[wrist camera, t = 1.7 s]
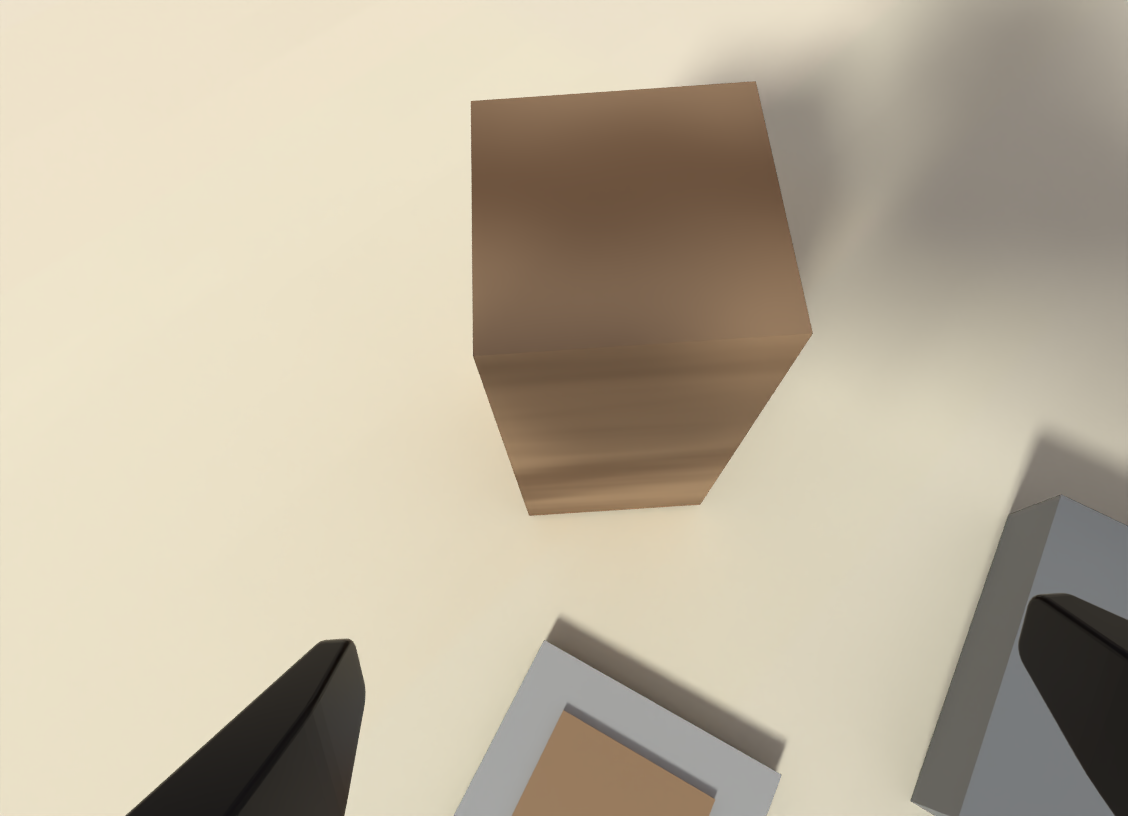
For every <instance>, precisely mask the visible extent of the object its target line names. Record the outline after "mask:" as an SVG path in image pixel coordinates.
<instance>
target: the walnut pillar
mask: <svg viewBox="0 0 1128 816" xmlns="http://www.w3.org/2000/svg"><path fill="white" fill-rule="evenodd" d="M471 163H472V285H473V357H474V360H475V363H476V366H477V369H478V371H479V374H480V377H481V380H482V383H483V386H484V389H485V391H486V394H487V397H488V400H489V403H490V406H491V408H492V411H493V414H494V417H495V420H496V423H497V426H498V428H499V431H500V434H501V437H502V440H503V443H504V445H505V448H506V451H507V454H508V457H509V460H510V462H511V465H512V468H513V471H514V474H515V477H516V480H517V482H518V485H519V488H520V491H521V494H522V497H523V499H524V502H525V505H526V508H527V511H528V514H529V516H532V515H547V514H563V513H578V512H593V511H609V510H624V509H639V508H655V507H670V506H685V505H700V504H701V503H702V501H703V499H704V498H705V496H706V495H707V493H708V492H709V490H710V489H711V487H712V486H713V484H714V483H715V481H716V480H717V478H718V477H719V475H720V474H721V472H722V471H723V469H724V468H725V466H726V464H727V463H728V461H729V460H730V458H731V457H732V455H733V454H734V452H735V451H736V449H737V448H738V446H739V445H740V443H741V442H742V440H743V439H744V437H745V436H746V434H747V433H748V431H749V429H750V428H751V426H752V425H753V423H754V422H755V420H756V419H757V417H758V416H759V414H760V413H761V411H762V410H763V408H764V407H765V405H766V404H767V402H768V401H769V399H770V398H771V396H772V394H773V393H774V391H775V390H776V388H777V387H778V385H779V384H780V382H781V381H782V379H783V378H784V376H785V375H786V373H787V372H788V370H789V369H790V367H791V366H792V364H793V363H794V361H795V359H796V358H797V356H798V355H799V353H800V352H801V350H802V349H803V347H804V346H805V344H806V343H807V341H808V340H809V338H810V337H811V335H812V334H813V333H812V328H811V324H810V319H809V315H808V311H807V306H806V302H805V297H804V293H803V288H802V284H801V280H800V275H799V271H798V266H797V262H796V257H795V253H794V249H793V244H792V240H791V235H790V231H789V227H788V222H787V218H786V213H785V209H784V204H783V200H782V196H781V191H780V187H779V182H778V178H777V173H776V169H775V165H774V160H773V156H772V151H771V147H770V142H769V138H768V134H767V129H766V125H765V120H764V116H763V112H762V107H761V103H760V98H759V94H758V89H757V85H756V81H754V82H740V83H725V84H711V85H697V86H682V87H668V88H653V89H639V90H625V91H610V92H596V93H581V94H567V95H552V96H538V97H524V98H509V99H495V100H480V101H471Z"/></svg>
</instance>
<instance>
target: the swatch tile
mask: <svg viewBox="0 0 1128 816" xmlns="http://www.w3.org/2000/svg"><path fill="white" fill-rule="evenodd" d="M780 778H781V774H779V773H778V772H776V771H774V770H772V769H770V768H769V767H767V766H765V765H763V764H762V763H760V762H758V761H756V760H755V759H753V758H751V757H749V756H748V755H746V754H744V753H742V752H741V751H739V750H737V749H735V748H733V747H732V746H730V745H728V744H726V743H725V742H723V741H721V740H719V739H718V738H716V737H714V736H712V735H711V734H709V733H707V732H705V731H704V730H702V729H700V728H698V727H697V726H695V725H693V724H691V723H689V722H688V721H686V720H684V719H682V718H681V717H679V716H677V715H675V714H674V713H672V712H670V711H668V710H667V709H665V708H663V707H661V706H660V705H658V704H656V703H654V702H652V701H651V700H649V699H647V698H645V697H644V696H642V695H640V694H638V693H637V692H635V691H633V690H631V689H630V688H628V687H626V686H624V685H623V684H621V683H619V682H617V681H616V680H614V679H612V678H610V677H608V676H607V675H605V674H603V673H601V672H600V671H598V670H596V669H594V668H593V667H591V666H589V665H587V664H586V663H584V662H582V661H580V660H579V659H577V658H575V657H573V656H571V655H570V654H568V653H566V652H564V651H563V650H561V649H559V648H557V647H556V646H554V645H552V644H550V643H549V642H547V641H545V640H544V641H543V643H542V645H541V647H540V649H539V651H538V653H537V655H536V657H535V659H534V661H533V663H532V665H531V667H530V669H529V671H528V673H527V674H526V676H525V678H524V680H523V682H522V684H521V686H520V688H519V690H518V692H517V694H516V696H515V698H514V700H513V702H512V704H511V706H510V707H509V709H508V711H507V713H506V715H505V717H504V719H503V721H502V723H501V725H500V727H499V729H498V731H497V733H496V735H495V737H494V739H493V740H492V742H491V744H490V746H489V748H488V750H487V752H486V754H485V756H484V758H483V760H482V762H481V764H480V766H479V768H478V770H477V772H476V773H475V775H474V777H473V779H472V781H471V783H470V785H469V787H468V789H467V791H466V793H465V795H464V797H463V799H462V801H461V803H460V805H459V807H458V808H457V810H456V812H455V814H454V816H767V813H768V810H769V808H770V805H771V802H772V800H773V797H774V794H775V791H776V789H777V786H778V783H779V781H780Z"/></svg>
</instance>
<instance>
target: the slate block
mask: <svg viewBox="0 0 1128 816" xmlns="http://www.w3.org/2000/svg"><path fill="white" fill-rule="evenodd" d="M1052 593H1067V594H1071V595H1074V596H1076V597H1078V598H1080V599H1083V600H1085V601H1087V602H1089V603H1091V604H1094V605H1096V606H1098V607H1100V608H1103V609H1105V610H1107V611H1109V612H1111V613H1114V614H1116V615H1118V616H1120V617H1123V618H1125V619H1127V620H1128V526H1127V525H1125V524H1123V523H1121V522H1118V521H1116V520H1114V519H1112V518H1110V517H1108V516H1106V515H1104V514H1101V513H1099V512H1097V511H1095V510H1093V509H1091V508H1089V507H1087V506H1085V505H1082V504H1080V503H1078V502H1076V501H1074V500H1072V499H1070V498H1068V497H1065V496H1063V495H1059V496H1056V497H1054V498H1051V499H1048V500H1046V501H1043V502H1041V503H1038V504H1035V505H1033V506H1030V507H1028V508H1025V509H1022V510H1020V511H1017V512H1015V513H1012V514H1009V515H1008V518H1007V521H1006V524H1005V527H1004V530H1003V533H1002V536H1001V538H1000V541H999V544H998V547H997V550H996V553H995V556H994V559H993V562H992V565H991V568H990V571H989V573H988V576H987V579H986V582H985V585H984V588H983V591H982V594H981V597H980V600H979V603H978V605H977V608H976V611H975V614H974V617H973V620H972V623H971V626H970V629H969V632H968V635H967V638H966V640H965V643H964V646H963V649H962V652H961V655H960V658H959V661H958V664H957V667H956V670H955V673H954V675H953V678H952V681H951V684H950V687H949V690H948V693H947V696H946V699H945V702H944V705H943V707H942V710H941V713H940V716H939V719H938V722H937V725H936V728H935V731H934V734H933V737H932V740H931V742H930V745H929V748H928V751H927V754H926V757H925V760H924V763H923V766H922V769H921V772H920V774H919V777H918V780H917V783H916V786H915V789H914V792H913V795H912V798H911V802H913V803H915V804H916V805H918V806H920V807H921V808H923V809H925V810H926V811H928V812H930V813H931V814H933V815H935V816H1114V814H1113V813H1112V811H1111V810H1110V809H1109V807H1108V806H1107V804H1106V803H1105V801H1104V800H1103V798H1102V797H1101V796H1100V794H1099V793H1098V791H1097V790H1096V788H1095V787H1094V785H1093V783H1092V782H1091V780H1090V779H1089V777H1088V776H1087V774H1086V773H1085V771H1084V769H1083V768H1082V766H1081V764H1080V763H1079V761H1078V760H1077V758H1076V756H1075V755H1074V753H1073V751H1072V749H1071V748H1070V746H1069V744H1068V742H1067V740H1066V739H1065V737H1064V735H1063V733H1062V732H1061V730H1060V728H1059V726H1058V725H1057V723H1056V721H1055V719H1054V718H1053V716H1052V714H1051V712H1050V711H1049V709H1048V707H1047V705H1046V704H1045V702H1044V700H1043V698H1042V697H1041V695H1040V693H1039V691H1038V690H1037V688H1036V686H1035V684H1034V682H1033V681H1032V679H1031V677H1030V675H1029V674H1028V672H1027V670H1026V668H1025V667H1024V665H1023V663H1022V661H1021V658H1020V655H1019V650H1018V641H1019V637H1020V633H1021V629H1022V625H1023V621H1024V617H1025V613H1026V609H1027V606H1028V603H1029V601H1030V599H1031V598H1032V597H1033V596H1035V595H1039V594H1052Z"/></svg>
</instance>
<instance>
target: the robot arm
mask: <svg viewBox="0 0 1128 816" xmlns="http://www.w3.org/2000/svg"><path fill="white" fill-rule="evenodd" d="M1018 650H1019V655H1020V658H1021V661H1022V663H1023V665H1024V667H1025V668H1026V670H1027V672H1028V674H1029V675H1030V677H1031V679H1032V681H1033V682H1034V684H1035V686H1036V688H1037V690H1038V691H1039V693H1040V695H1041V697H1042V698H1043V700H1044V702H1045V704H1046V705H1047V707H1048V709H1049V711H1050V712H1051V714H1052V716H1053V718H1054V719H1055V721H1056V723H1057V725H1058V726H1059V728H1060V730H1061V732H1062V733H1063V735H1064V737H1065V739H1066V740H1067V742H1068V744H1069V746H1070V748H1071V749H1072V751H1073V753H1074V755H1075V756H1076V758H1077V760H1078V761H1079V763H1080V764H1081V766H1082V768H1083V769H1084V771H1085V773H1086V774H1087V776H1088V777H1089V779H1090V780H1091V782H1092V783H1093V785H1094V787H1095V788H1096V790H1097V791H1098V793H1099V794H1100V796H1101V797H1102V798H1103V800H1104V801H1105V803H1106V804H1107V806H1108V807H1109V809H1110V810H1111V811H1112V813H1113V814H1114V816H1128V620H1127V619H1125V618H1123V617H1120V616H1118V615H1116V614H1114V613H1111V612H1109V611H1107V610H1105V609H1103V608H1100V607H1098V606H1096V605H1094V604H1091V603H1089V602H1087V601H1085V600H1083V599H1080V598H1078V597H1076V596H1074V595H1071V594H1067V593H1052V594H1039V595H1035V596H1033V597H1032V598H1031V599H1030V601H1029V603H1028V606H1027V609H1026V613H1025V617H1024V621H1023V625H1022V629H1021V633H1020V637H1019V641H1018ZM364 705H365V684H364V679H363V675H362V671H361V667H360V662H359V658H358V654H357V650H356V646H355V644H354V642H353V641H352V640H350V639H333V640H324V641H321V642H319V643H318V644H316V645H315V646H314V647H313V648H312V649H311V650H309V651H308V652H307V653H306V654H305V655H304V656H303V657H302V658H301V659H299V660H298V661H297V662H296V663H295V664H294V665H293V666H292V667H291V668H289V669H288V670H287V671H286V672H285V673H284V674H283V675H282V676H281V677H279V678H278V679H277V680H276V681H275V682H274V683H273V684H272V685H270V686H269V687H268V688H267V689H266V690H265V691H264V692H263V693H262V694H260V695H259V696H258V697H257V698H256V699H255V700H254V701H253V702H252V703H250V704H249V705H248V706H247V707H246V708H245V709H244V710H243V711H242V712H240V713H239V714H238V715H237V716H236V717H235V718H234V719H233V720H232V721H230V722H229V723H228V724H227V725H226V726H225V727H224V728H223V729H221V730H220V731H219V732H218V733H217V734H216V735H215V736H214V737H213V738H211V739H210V740H209V741H208V742H207V743H206V744H205V745H204V746H203V747H201V748H200V749H199V750H198V751H197V752H196V753H195V754H194V755H193V756H191V757H190V758H189V759H188V760H187V761H186V762H185V763H184V764H182V765H181V766H180V767H179V768H178V769H177V770H176V771H175V772H174V773H172V774H171V775H170V776H169V777H168V778H167V779H166V780H165V781H164V782H162V783H161V784H160V785H159V786H158V787H157V788H156V789H155V790H154V791H152V792H151V793H150V794H149V795H148V796H147V797H146V798H145V799H143V800H142V801H141V802H140V803H139V804H138V805H137V806H136V807H135V808H133V809H132V810H131V811H130V812H129V813H128V814H127V815H126V816H344V814H345V810H346V805H347V799H348V794H349V788H350V783H351V777H352V772H353V766H354V761H355V755H356V749H357V744H358V738H359V733H360V727H361V722H362V716H363V711H364Z"/></svg>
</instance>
